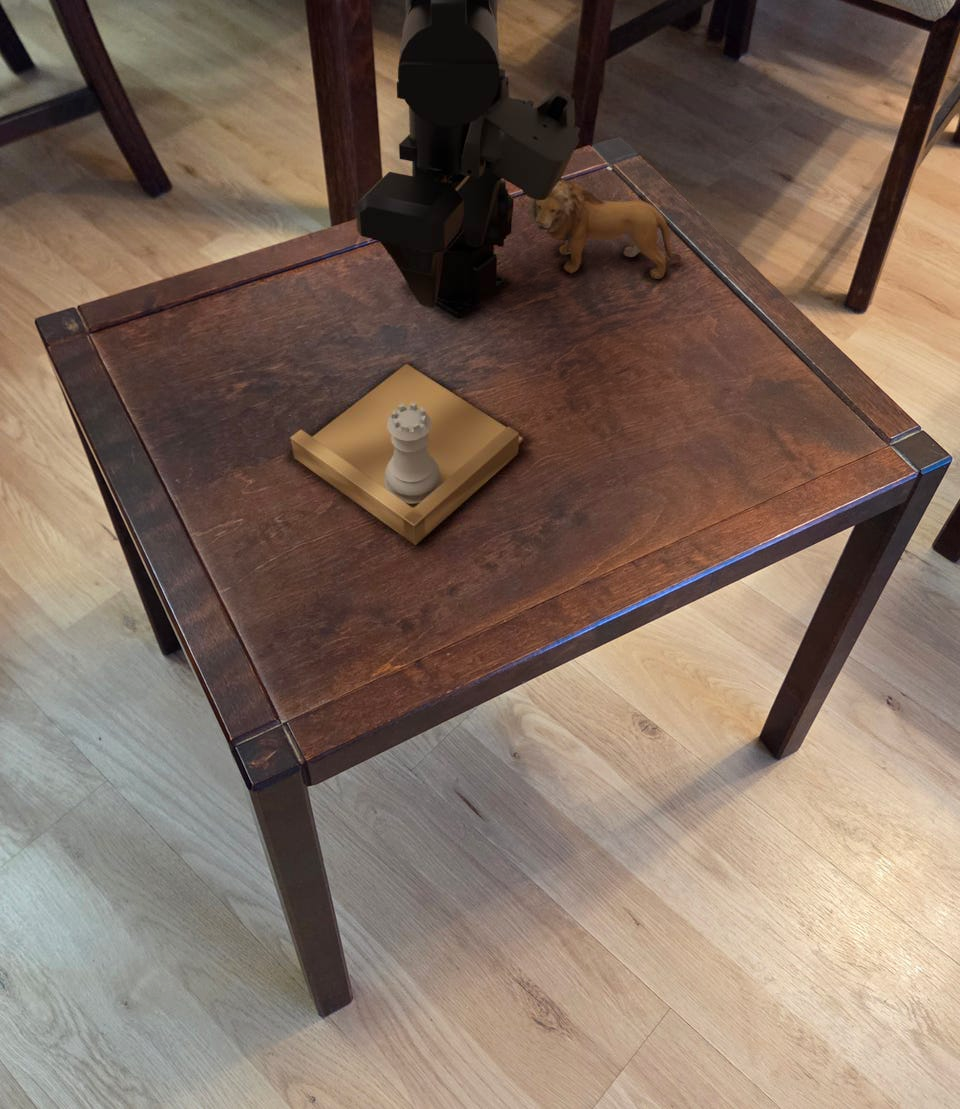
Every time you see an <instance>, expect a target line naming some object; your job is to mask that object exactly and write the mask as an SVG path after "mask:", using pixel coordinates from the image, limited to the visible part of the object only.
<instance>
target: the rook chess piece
mask: <svg viewBox="0 0 960 1109" xmlns="http://www.w3.org/2000/svg"><path fill="white" fill-rule="evenodd" d="M431 425H432V424H431V419H430V417H429V416H428V415H427V414H426V413H425V410H424V409H423V407H420V408H419V409H418V408H417V404H416V403H411V402H410V407H405V406H404V403H402V404H400V405H398V410H397V411H396V410H393V411H392V414H391V416H390V417H389V419H388V422H387V428H388V431H389V432H390V433H391V435H392V436H391V440H392V444H393V445H394V446H395V447H394V456H393V457H392V458H391V460H390V461H389V462H388V465H387V468H386V470H385V480H384V481H385V489H386V490H388V491H389V492H391V493H392V494H393V495H395V496H396V497H398V498H399V499H401V500H402V501H403V502H405V503H408V504H417V503H420V502H421V501H423V500H424V499H425V498H426V497H427V496H428V495H430V494H431V493H432V492H433V491H434V490H435V489H436V488H438V487H439V486H440V485H441V477H440V471H439V466H438V464H437V463H436V462H435V460H434V459H433V458H432V457H431V455H430V454H429V453H428V449H427V443H428V440H429V435H428V432H429V431H430V428H431Z"/></svg>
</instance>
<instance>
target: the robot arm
mask: <svg viewBox="0 0 960 1109" xmlns="http://www.w3.org/2000/svg"><path fill="white" fill-rule="evenodd" d="M497 25H498V0H405V19H404V23H403V27H402V34H401V43H400V52H399V58H398V59H399V60H398V66H397V81H396V98H397V99H401V100H404V101H405V103H406V105H407V106H408V120H409V121H408V122H409V125H408V126H409V134H408V135H407V136H406V137H405V138H404V139H403V140H402V141H401V142H399V144H398V154H399V155H398V156H399V160H403V161H408V162H411V163H412V164H411V165H412V170H411V173H412V175H408V174H404V173H398V172H393V171H389V172H387V173H386V174H385V175H384V176H382V177H381V178H380V179H379V180H378V181H377V182H376V183H375V184H374V186H372V187H371V188H370V190H368V192H367V193H365V194H364V195H363V196H362V197H361V198H360V199H359V200H358V202H356V203H355V215H356V217H355V218H356V229H357V232H358V234H359V235H360V236H361V237H363V238H367V239H371V240H373V241H377V242H380V244H381V245H382V247H383V248H384V249H385V251H386V252H387V253H388V255H389V256H390V258H391V259H392V260H393V262H394V264H395V265H396V267H397V268H398V270H399V272H400V273H401V275H402V276H403V278H404V280H405V282H406V284H407V285H408V288H409V290H411V292H412V293H413V295H414V297H415V298H416V300H417V303H419V305H421V306H423V307H426V308H430V309H433V308H434V307H435V306H438V307H439V308H441V309H443V310H444V311H446V312H448V313H449V314H451V315H453V316H454V317H456V318H462V317H464V316H465V315H466V314H468V313H469V312H470V311H472V310H473V309H474V308H476V307H477V306H479V304H481V303H483V301H485V300H486V299H487V298H489V297H490V296H491V295H493V294H494V293H495V292H496V291H498V290H499V289H500V288H502V287H503V286H504V284H505V278H504V277H503V276H501V275H500V274H498V273H497V270H498V269H497V268H498V266H497V265H498V256H497V254H496V253H495V246H497V247H505V240H507V236H509V235H511V234H512V229H513V228H512V227H513V226H512V225H513V212H514V205H515V204H514V202H515V200H514V197H513V196H512V195H511V194H510V193H509V188H507V182H508V183H509V184H511V185H513V186H516V187H517V188H518V189H520V190H522V193H523V194H524V195H525V196H527V197H528V198H533V199H536V200H544V199H546V198H547V197H548V196H549V194H550V193H551V191H552V190H553V188H554V187H555V186H556V184H557V183H558V182H559V181H560V179H561V178H562V177H563V175H564V174H565V171H566V169H567V166H568V164H569V162H570V160H571V158H572V156H573V154H574V152H575V149H576V147H578V145H579V144H580V138H579V133H580V131H581V128H580V127H578V126H577V125H576V108H575V99H574V98H572V97H570V96H569V95H567V94H565V93H564V92H562V91H560V90H558V89H557V90H556V89H555V90H554V91H553V92H552V93H550V94H549V95H548V96H547V97H546V98H544V99H543V100H542V101H540V102H539V103H538V104H537V105H536V106H535V107H534V103H535V102H534V100H532V99H527V101H526V100H525V99H520V98H515V97H514V98H513V97H511V96H510V78H509V76H506V69H503V68H500V53H499V52H500V51H499V32H498V26H497Z"/></svg>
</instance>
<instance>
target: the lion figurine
mask: <svg viewBox="0 0 960 1109" xmlns="http://www.w3.org/2000/svg"><path fill="white" fill-rule="evenodd" d="M529 198H530V197H529ZM527 214H528V216H529V219H530V220H531V222H532V223H533V224H534V225H535V226H536V227H537V228H538V231H539V232H541V233H548V235H549V237H551V239H554V240H555V241H563V242H565V243H564V244H562V245H561V246H560V247H559V253H560V254H561V255H565V256H567V255H570V261H566V262H565V264H564V266H563V269H564V270H565V271H566V272H568V273H569V274H573V273H575V272H577V271H578V270H579V268H580V265H581V263H582V253H583V249H584V246H585V245H586V244H587V242H588V239H592V240H598V241H611V240H612V241H613V240H617V239H619V238H621V237H624V236H626V235H628V236H629V237H630V238H631V240H632V241H633V243H634V246H626V247H625V248H624V249H623V255H624V256H625V257H628V258H632V257H636V256H637V255H638V254H639V253H641V254H643V255H644V256H645V257H646V258H648V259H649V260H651V261H652V262H653V263H654V264H655V265H656V267H655V266H654V267H653V268H652V269H650V271H649V275H650V276H651V277H652V278H653V279H655V280H659V279H662V278H663V277H664V275H665V273H666V269H667V268H666V267H667V264H666V263H667V261H666V259H667V258H668V259H669V260H670V261H673V262H679V261H681V260H682V255H681V254H678V253H674V252H673V251H672V248H671V238H670V231H669V228H668V223H667V221H666V219H665V217H664V216H663V215H662V214H661V212H660V211H659V210H658V209H657V208H656V207H655V206H654V205H652V204H650V203H648V202H647V201H644V200H640V199H639V200H638V199H636V200H625V201H613V200H604V199H599V198H598V197H596V196H595V194H594V193H593V192H592V191H591V190H590V189H588V188H585V187H584V186H580V185H579V183H575V184H574V183H573V182H572V181H571V180H570V179H565V178H562V177H561V179H560V181H559V182H558V183H557V184H556V186H555V187H554V188H553V190H552V191H551V193H550V194H549V196H548V197H547V198H546V199H544V200H536V199H533V198H530V200H529V202H528V208H527ZM658 229H660V233H661V237H662V241H663V246H664V247H663V248H664V251H665V253H663V252H662V251H661V250H660V247H659V245H658V241H657V236H658V235H657V234H658ZM665 254H666V255H665ZM666 256H667V258H666Z"/></svg>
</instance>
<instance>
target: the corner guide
mask: <svg viewBox="0 0 960 1109" xmlns="http://www.w3.org/2000/svg"><path fill="white" fill-rule="evenodd" d="M410 402H411V403H416V404H417V408H418V409H419V408H420V407H423V409H424V410H425V413H426V414H427V415H428V416H429V417H430V419H431V424H432V425H431V428H430V431H429V432H428V435H429V440H428V443H427V449H428V453H429V454H430V455H431V457H432V458H433V459H434V460H435V462H436V463H437V464H438V466H439V471H440V477H441V485H440V486H439V487H438V488H436V489H435V490H434V491H433V492H432V493H431V494H430V495H428V496H427V497H426V498H425V499H424V500H423V501H421V502H420V503H417V504H408V503H405V502H403V501H402V500H401V499H399V498H398V497H396V496H395V495H393V494H392V493H391V492H389V491H388V490H386V489H385V481H384V480H385V470H386V468H387V465H388V462H389V461H390V460H391V458H392V457H393V456H394V447H395V446H394V445H393V444H392V440H391V436H392V435H391V433H390V432H389V431H388V428H387V422H388V419H389V417H390V416H391V414H392V411H393V410H396V411H397V410H398V405H400V404H402V403H404V406H405V407H410ZM522 442H524V438H523V437H522V436H520V432H518V431H517V430H515V429H514V428H512V427H511V426H509V425H508V426H505V425H504V424H502V423H500V422H499V421H497V420H495V419H494V418H492V417H491V416H489V415H488V414H486V413H485V412H483V411H481V410H480V409H478V408H477V407H475V406H474V405H473V404H470V403H469V402H467V401H466V400H464V399H463V398H461V397H460V396H458V395H456V394H455V393H453V392H452V391H451V390H448V389H447V388H445V387H444V386H442V385H440V384H439V383H437V382H436V381H434V380H433V379H431V378H430V377H428V376H427V375H425V374H424V373H422V372H420V371H419V370H417V369H415V368H414V367H413V366H411V365H409V364H408V363H406V364H404V365H403V366H402V367H400V368H399V369H398V370H397V371H395V372H394V373H392V374H391V375H390V376H388V377H387V378H386V379H384V381H382V382H381V383H379V384H378V385H376V387H374V388H373V389H372V390H370V392H368V393H367V394H365V395H364V396H363V397H361V398H360V399H359V400H358V401H357V402H355V403H354V404H353V405H351V406H350V407H349V408H347V409H346V410H344V411H343V412H342V413H341V414H340V415H338V416H336V418H334V419H333V420H332V421H330V422H329V423H328V424H327V425H325V426H324V427H323V428H322V429H320V430H319V431H317V432H316V433H315V434H314V435H313V436H312V435H310V434H309V433H308V432H306V431H304V430H303V429H299V430H298V431H297V432H295V433H294V434H293V435H291V436H290V443H291V448H292V453H293V458H294V459H295V460H296V461H298V462H299V463H301V465H303V466H305V467H306V468H308V469H309V470H310V471H311V472H313V473H315V474H316V475H317V476H318V477H320V478H321V479H322V480H324V481H325V482H327V483H328V484H330V485H331V486H333V487H334V489H337V491H339V492H340V493H342V494H343V495H344V496H346V497H347V498H349V499H351V500H352V501H353V502H355V503H356V504H357V505H359V506H360V507H362V508H363V509H364V510H366V511H367V512H369V513H370V514H371V515H372V516H374V517H375V518H377V519H378V520H379V521H381V522H382V523H384V524H385V525H387V527H389V528H390V529H392V530H393V531H395V532H396V533H398V534H399V535H400V536H402V537H403V538H404V539H406V540H407V541H408V542H410V543H411V544H413V545H414V546H417V545H418V544H419V543H420V542H421V541H423V539H424V538H426V536H428V535H429V534H430V533H431V532H432V531H433V530H435V529H436V528H437V527H438V526H439V525H440V524H441V523H442V522H443V521H445V520H446V519H447V518H448V517H449V516H450V515H451V514H453V512H454V511H456V510H457V509H458V508H459V507H460V506H461V505H462V504H463V503H464V502H466V501H467V500H468V499H469V498H470V497H471V496H472V495H474V494H475V493H476V492H477V491H478V490H479V489H480V488H482V486H483V485H485V484H486V483H487V482H488V481H490V479H491V478H492V477H494V476H495V475H496V474H497V473H498V472H500V470H502V469H503V468H504V467H505V466H506V465H507V464H508V463H509V462H511V461H512V460H513V459H514V458H515V457H516V456H518V454H519V445H521V443H522Z"/></svg>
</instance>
